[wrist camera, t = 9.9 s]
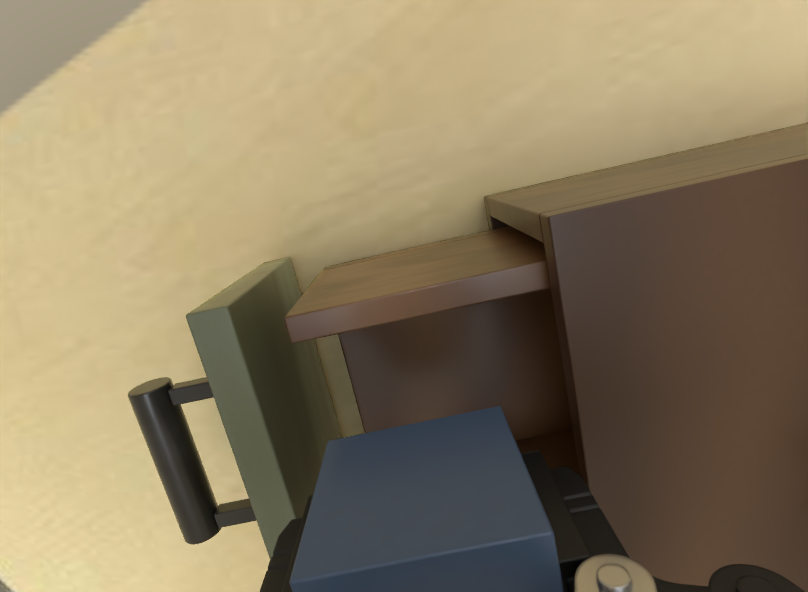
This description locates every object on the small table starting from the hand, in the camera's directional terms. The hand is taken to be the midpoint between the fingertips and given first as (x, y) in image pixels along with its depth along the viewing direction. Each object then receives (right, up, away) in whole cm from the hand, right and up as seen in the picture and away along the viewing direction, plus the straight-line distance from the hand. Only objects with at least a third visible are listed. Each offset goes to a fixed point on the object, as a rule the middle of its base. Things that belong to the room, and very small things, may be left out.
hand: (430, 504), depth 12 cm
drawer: (-1, +2, +9) cm, 10 cm away
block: (0, 0, 0) cm, 0 cm away
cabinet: (+11, +5, +10) cm, 16 cm away
